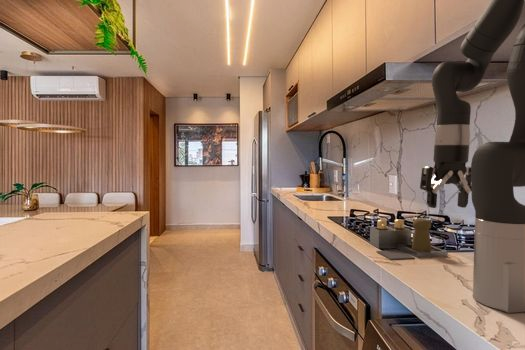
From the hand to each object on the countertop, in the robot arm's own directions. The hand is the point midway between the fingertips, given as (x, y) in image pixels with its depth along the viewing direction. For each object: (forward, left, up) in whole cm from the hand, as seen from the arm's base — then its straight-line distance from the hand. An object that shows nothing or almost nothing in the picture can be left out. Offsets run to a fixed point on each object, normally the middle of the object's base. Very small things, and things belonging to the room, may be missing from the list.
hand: (447, 207), depth 78 cm
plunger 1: (+28, +1, -14) cm, 32 cm away
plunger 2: (+28, -5, -14) cm, 32 cm away
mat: (+17, +3, -18) cm, 25 cm away
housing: (+23, -4, -18) cm, 29 cm away
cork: (+19, -7, -18) cm, 27 cm away
